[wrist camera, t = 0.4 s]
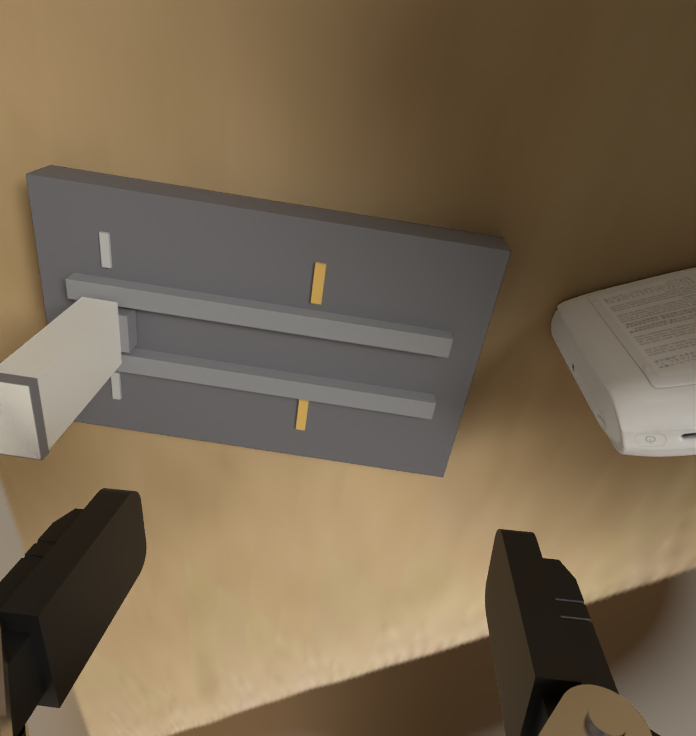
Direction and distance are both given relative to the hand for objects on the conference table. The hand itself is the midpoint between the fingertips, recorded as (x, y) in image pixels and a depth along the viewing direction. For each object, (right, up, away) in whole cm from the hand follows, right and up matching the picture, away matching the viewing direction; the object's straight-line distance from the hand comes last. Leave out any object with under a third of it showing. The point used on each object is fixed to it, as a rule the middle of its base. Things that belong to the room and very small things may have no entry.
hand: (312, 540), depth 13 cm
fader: (-13, +7, +21) cm, 26 cm away
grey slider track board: (-4, +7, +23) cm, 25 cm away
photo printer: (+18, +8, +21) cm, 29 cm away
